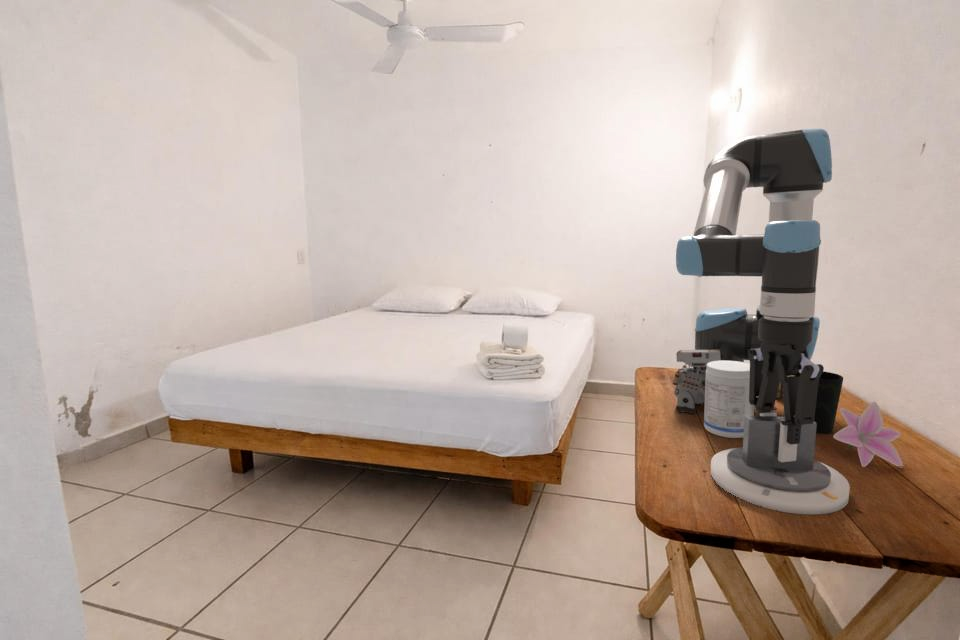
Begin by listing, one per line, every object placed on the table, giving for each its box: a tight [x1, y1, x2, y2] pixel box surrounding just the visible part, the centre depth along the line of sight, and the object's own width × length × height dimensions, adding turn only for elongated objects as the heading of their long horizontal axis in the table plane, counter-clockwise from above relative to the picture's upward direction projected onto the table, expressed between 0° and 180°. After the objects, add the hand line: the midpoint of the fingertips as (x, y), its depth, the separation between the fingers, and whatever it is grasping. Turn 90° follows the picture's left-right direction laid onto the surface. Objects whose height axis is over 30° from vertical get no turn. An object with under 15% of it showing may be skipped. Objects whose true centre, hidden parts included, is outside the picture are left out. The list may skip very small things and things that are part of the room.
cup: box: [814, 370, 844, 435], centre depth 105 cm, size 8×8×12 cm
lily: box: [832, 401, 904, 468], centre depth 92 cm, size 12×12×10 cm
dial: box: [727, 414, 831, 492], centre depth 82 cm, size 15×15×9 cm
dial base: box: [710, 447, 851, 516], centre depth 83 cm, size 20×20×2 cm
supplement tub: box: [703, 360, 755, 439], centre depth 105 cm, size 10×10×15 cm
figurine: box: [672, 349, 722, 415], centre depth 119 cm, size 9×12×15 cm
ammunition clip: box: [776, 382, 783, 400], centre depth 130 cm, size 11×2×12 cm, turn 150°
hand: (776, 454), depth 83 cm, fingers closed on dial, 4 cm apart
